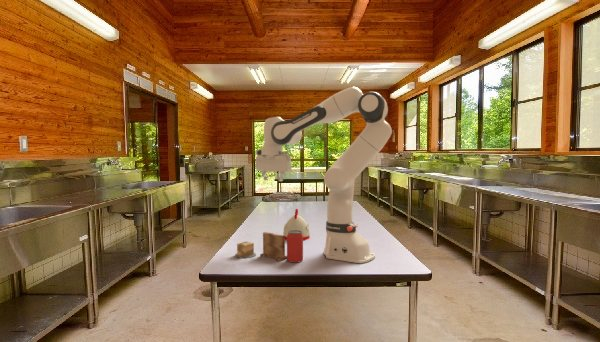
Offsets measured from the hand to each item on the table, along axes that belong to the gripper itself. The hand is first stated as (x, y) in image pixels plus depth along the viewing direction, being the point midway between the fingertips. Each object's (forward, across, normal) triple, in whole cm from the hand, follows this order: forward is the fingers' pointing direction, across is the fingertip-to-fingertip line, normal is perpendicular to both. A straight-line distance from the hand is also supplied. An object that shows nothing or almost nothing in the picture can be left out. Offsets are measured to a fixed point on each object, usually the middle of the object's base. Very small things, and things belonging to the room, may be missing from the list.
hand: (273, 180), depth 161 cm
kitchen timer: (+31, +1, -19) cm, 37 cm away
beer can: (+31, -22, +11) cm, 40 cm away
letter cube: (+31, -1, +19) cm, 36 cm away
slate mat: (+31, -1, +19) cm, 36 cm away
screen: (+31, -13, +14) cm, 36 cm away
